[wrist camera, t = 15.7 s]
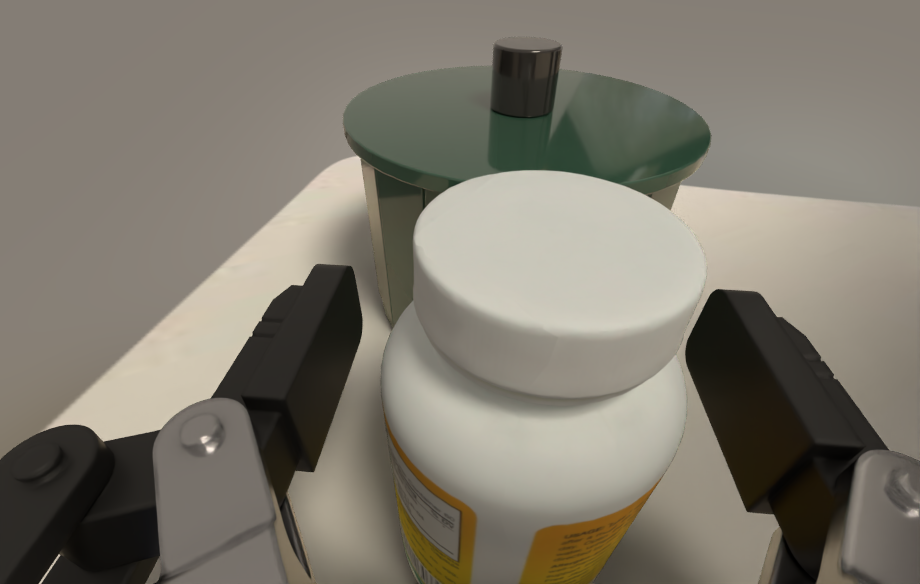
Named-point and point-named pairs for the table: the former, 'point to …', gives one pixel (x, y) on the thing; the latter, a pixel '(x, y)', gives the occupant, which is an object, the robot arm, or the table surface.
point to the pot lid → (524, 123)
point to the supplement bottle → (536, 375)
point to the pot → (410, 233)
